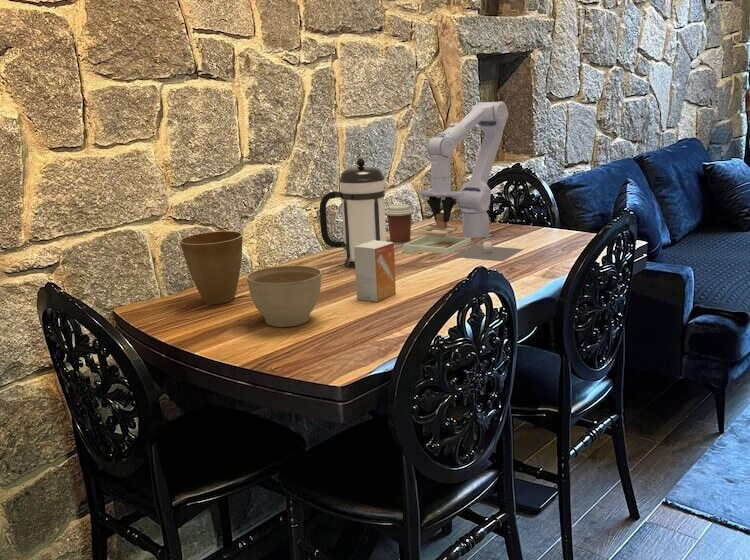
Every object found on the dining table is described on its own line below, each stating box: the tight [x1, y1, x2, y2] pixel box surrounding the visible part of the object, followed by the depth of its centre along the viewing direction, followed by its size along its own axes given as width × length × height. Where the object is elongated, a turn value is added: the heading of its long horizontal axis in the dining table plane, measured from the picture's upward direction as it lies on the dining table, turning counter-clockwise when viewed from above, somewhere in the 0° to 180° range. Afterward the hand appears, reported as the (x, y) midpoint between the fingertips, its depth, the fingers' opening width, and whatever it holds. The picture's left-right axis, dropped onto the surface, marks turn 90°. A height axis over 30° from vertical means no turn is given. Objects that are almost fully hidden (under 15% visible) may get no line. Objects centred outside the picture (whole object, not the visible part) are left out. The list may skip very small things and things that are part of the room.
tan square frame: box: [413, 212, 459, 237], centre depth 218 cm, size 10×10×5 cm
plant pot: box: [179, 230, 243, 305], centre depth 175 cm, size 15×15×16 cm
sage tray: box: [401, 235, 472, 255], centre depth 220 cm, size 16×16×2 cm
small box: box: [354, 240, 397, 303], centre depth 172 cm, size 8×6×13 cm
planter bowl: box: [246, 265, 323, 328], centre depth 157 cm, size 16×16×11 cm
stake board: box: [450, 241, 524, 262], centre depth 208 cm, size 16×16×4 cm
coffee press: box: [319, 158, 391, 269], centre depth 203 cm, size 17×16×30 cm
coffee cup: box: [385, 203, 414, 246], centre depth 231 cm, size 9×9×12 cm
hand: (442, 221), depth 221 cm, fingers closed on tan square frame, 2 cm apart
